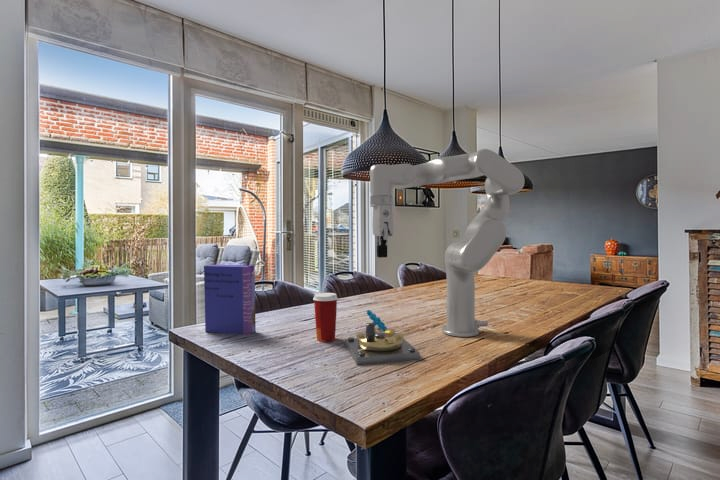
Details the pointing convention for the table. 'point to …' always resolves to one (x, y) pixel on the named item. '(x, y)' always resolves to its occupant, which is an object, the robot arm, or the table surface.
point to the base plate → (380, 353)
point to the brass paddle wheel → (379, 339)
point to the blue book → (230, 299)
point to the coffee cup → (325, 316)
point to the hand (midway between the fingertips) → (382, 257)
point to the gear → (376, 320)
